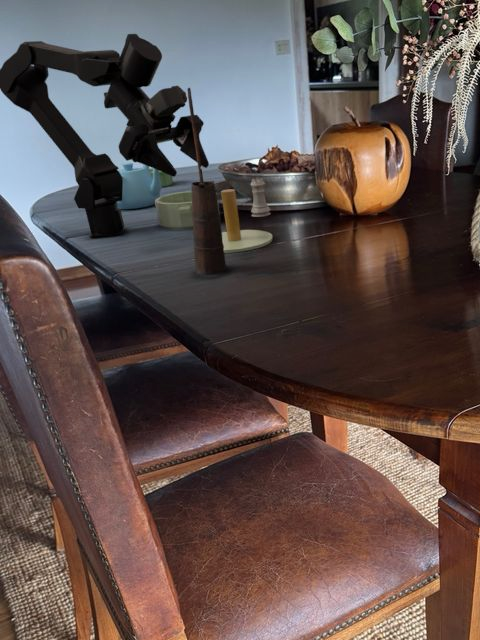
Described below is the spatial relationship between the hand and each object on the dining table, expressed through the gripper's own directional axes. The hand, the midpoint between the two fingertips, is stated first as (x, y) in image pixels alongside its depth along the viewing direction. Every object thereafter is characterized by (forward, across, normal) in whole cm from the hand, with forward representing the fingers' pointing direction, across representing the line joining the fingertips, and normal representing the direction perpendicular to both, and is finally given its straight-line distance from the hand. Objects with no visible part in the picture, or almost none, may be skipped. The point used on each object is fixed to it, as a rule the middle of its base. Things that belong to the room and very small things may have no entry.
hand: (191, 170), depth 122 cm
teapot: (-22, +26, +41) cm, 53 cm away
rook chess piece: (+9, +22, +11) cm, 26 cm away
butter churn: (+21, -17, -2) cm, 27 cm away
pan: (-1, +13, +20) cm, 24 cm away
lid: (+15, 0, +4) cm, 15 cm away
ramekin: (-32, +49, +51) cm, 78 cm away
